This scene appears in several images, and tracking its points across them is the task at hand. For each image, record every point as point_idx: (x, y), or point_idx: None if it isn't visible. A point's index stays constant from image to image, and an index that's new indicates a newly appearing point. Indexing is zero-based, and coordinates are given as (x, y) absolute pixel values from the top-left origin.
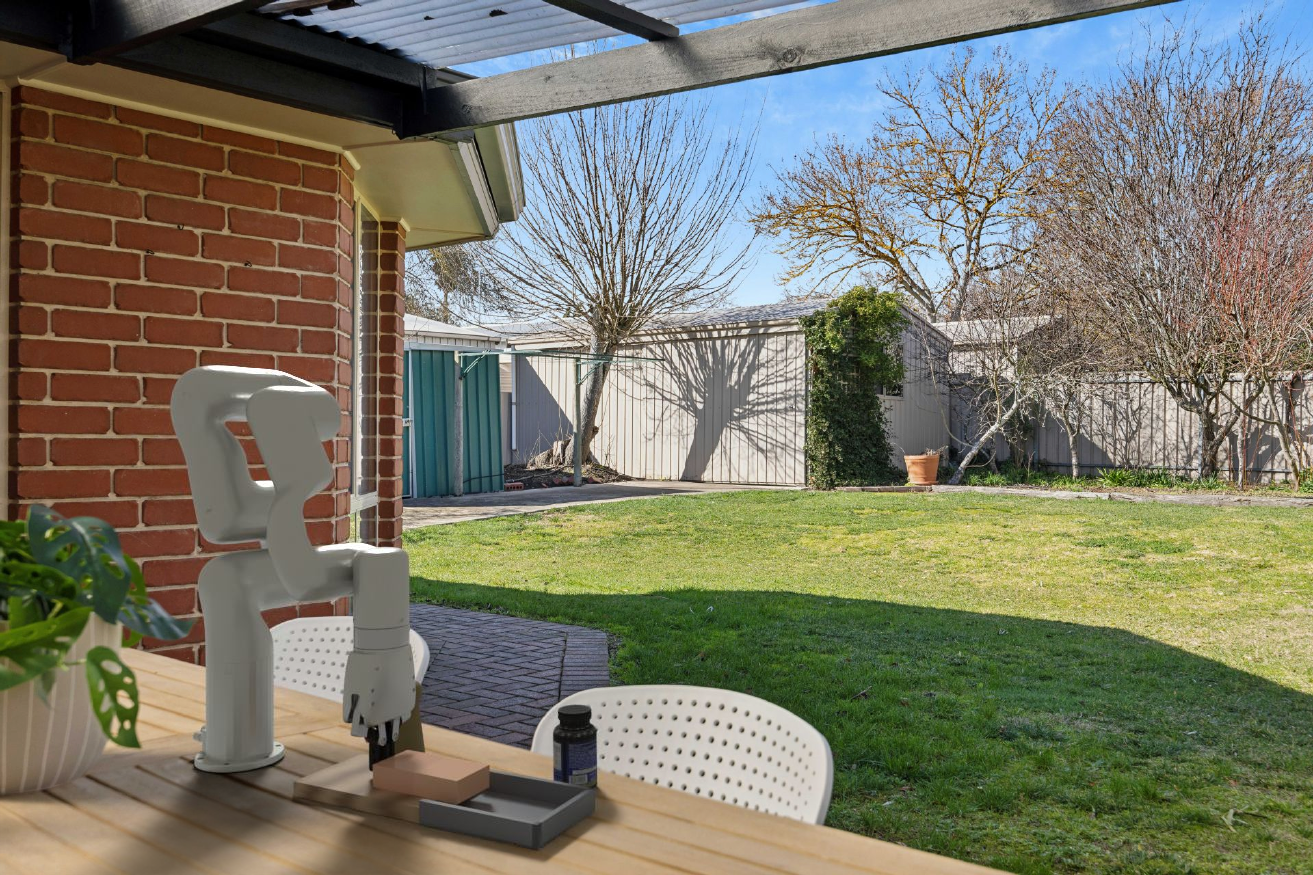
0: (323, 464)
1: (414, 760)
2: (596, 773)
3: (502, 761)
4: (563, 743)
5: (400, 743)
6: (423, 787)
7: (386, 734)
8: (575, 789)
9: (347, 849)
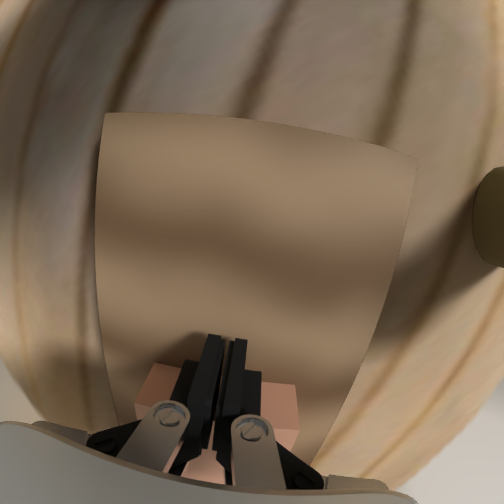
0: None
1: (216, 465)
2: None
3: (440, 419)
4: None
5: (499, 236)
6: None
7: (225, 461)
8: None
9: (32, 374)
